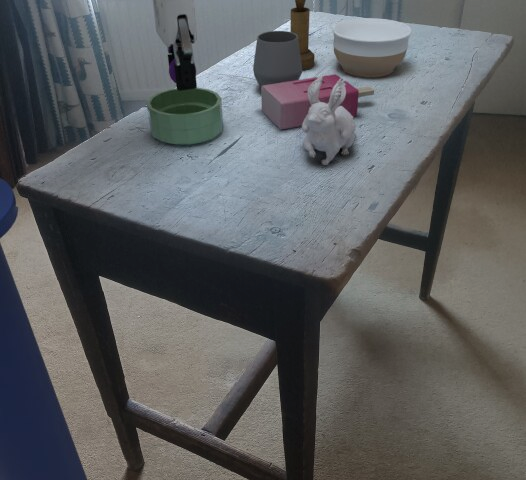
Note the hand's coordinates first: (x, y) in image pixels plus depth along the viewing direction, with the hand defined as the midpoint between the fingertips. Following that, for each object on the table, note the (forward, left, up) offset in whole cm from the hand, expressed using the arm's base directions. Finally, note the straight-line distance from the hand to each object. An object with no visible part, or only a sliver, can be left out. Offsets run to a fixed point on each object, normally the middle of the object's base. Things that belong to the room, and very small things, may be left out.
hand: (183, 82), depth 96 cm
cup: (+21, +13, -9) cm, 26 cm away
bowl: (+43, +18, -9) cm, 47 cm away
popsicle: (+25, 0, -9) cm, 26 cm away
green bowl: (0, 0, -8) cm, 8 cm away
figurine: (+20, -15, -9) cm, 26 cm away
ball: (0, 0, +2) cm, 2 cm away
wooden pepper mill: (+30, +25, -9) cm, 40 cm away
